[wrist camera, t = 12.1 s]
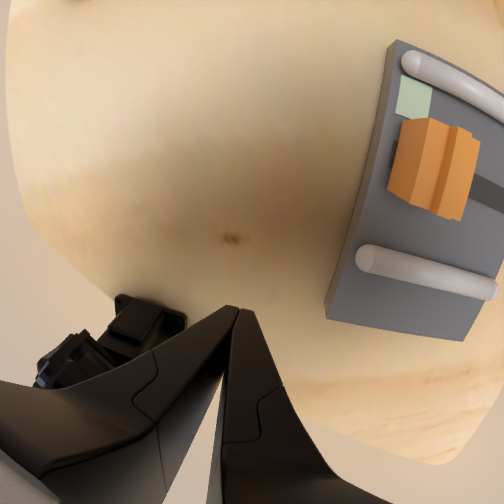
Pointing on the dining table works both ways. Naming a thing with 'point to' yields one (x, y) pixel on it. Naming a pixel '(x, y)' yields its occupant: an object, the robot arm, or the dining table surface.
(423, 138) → the breaker handle
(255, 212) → the dining table surface
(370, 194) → the switch panel
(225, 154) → the dining table surface
